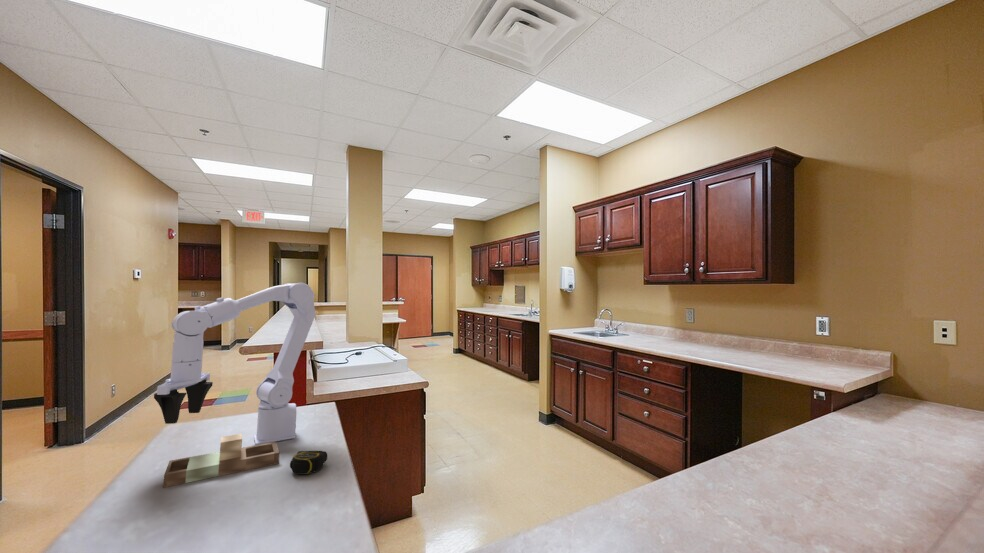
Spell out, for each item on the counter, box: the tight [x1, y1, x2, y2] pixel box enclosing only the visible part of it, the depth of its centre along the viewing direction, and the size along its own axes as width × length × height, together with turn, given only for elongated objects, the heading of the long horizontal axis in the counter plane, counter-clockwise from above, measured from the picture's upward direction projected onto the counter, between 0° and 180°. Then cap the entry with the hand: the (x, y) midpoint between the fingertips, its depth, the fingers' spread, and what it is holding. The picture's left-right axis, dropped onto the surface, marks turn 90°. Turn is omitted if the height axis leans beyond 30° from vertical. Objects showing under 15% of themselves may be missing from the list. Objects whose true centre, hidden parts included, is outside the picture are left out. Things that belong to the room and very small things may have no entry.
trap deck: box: [162, 441, 280, 489], centre depth 83 cm, size 20×8×2 cm, turn 126°
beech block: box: [219, 433, 243, 461], centre depth 84 cm, size 4×4×4 cm
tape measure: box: [289, 450, 328, 475], centre depth 83 cm, size 7×7×4 cm
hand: (183, 417), depth 87 cm, fingers open, 7 cm apart
